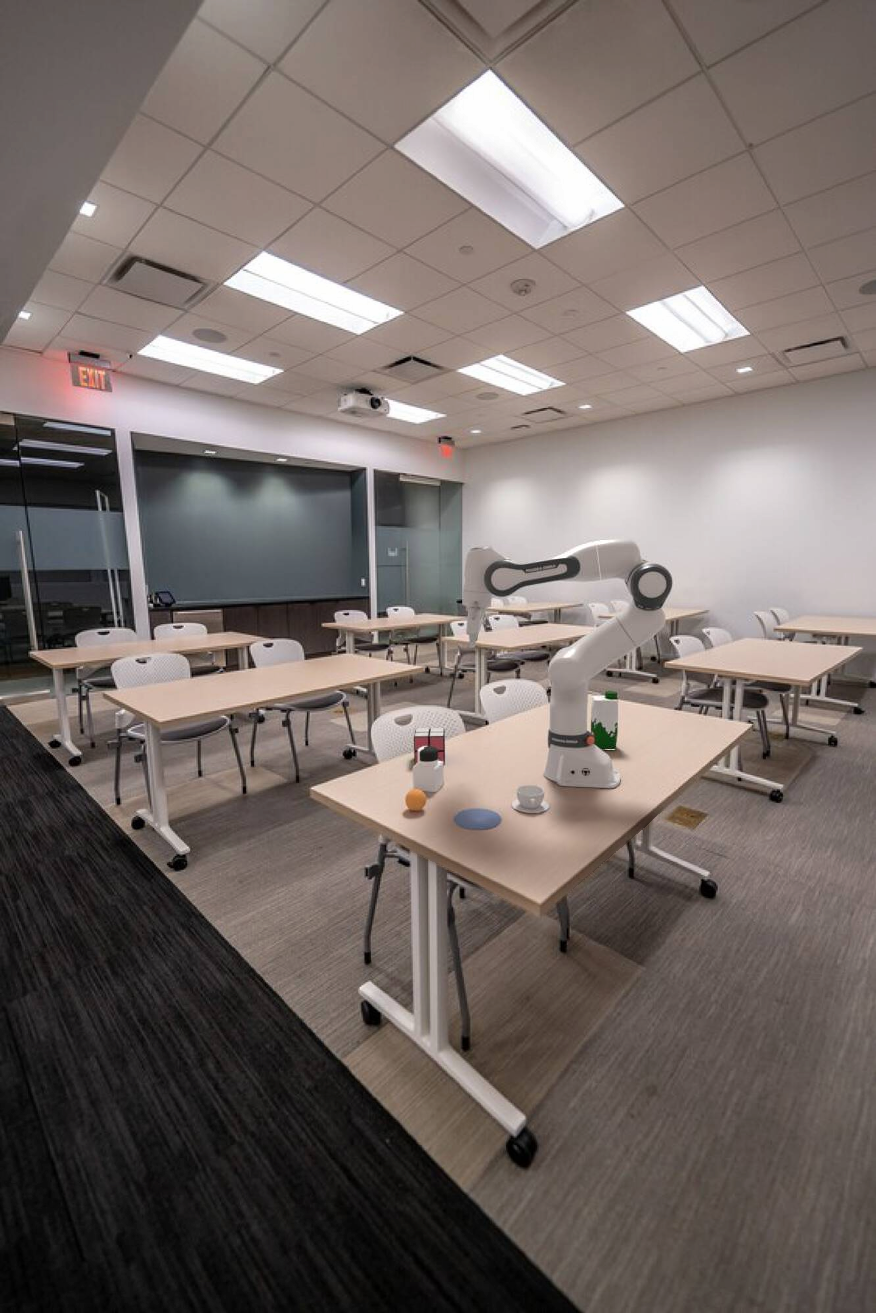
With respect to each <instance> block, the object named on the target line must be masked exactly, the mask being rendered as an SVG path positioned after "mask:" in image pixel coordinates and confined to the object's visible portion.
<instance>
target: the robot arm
mask: <svg viewBox="0 0 876 1313" xmlns="http://www.w3.org/2000/svg"><path fill="white" fill-rule="evenodd" d="M463 577H464V581H465V582H464V585H463V589H462V590H463V591H462V603H461V604H462V606H465V611H466V612H467V619H466V631H465V632H466V635H467V636H469V637H468V638H469V644H468V646H469V648H470V649H475V648H476V644H477V643H476V642H478V639H479V633H480V631H481V629H482V625H483V623H484V618H485V614H486V612H487V609H488V608H491V607H492V598H493V596H495V597H500V598H505V597H509V596H511V595H512V594H514V593H515V592H516V591H517V592H518V590H520V589H522V588H525V587H529V586H534V585H535V586H536V585H541V584H546V583H550V582H551V583H552V582H576V583H577V582H579V583H581V582H583V583H584V582H585V583H586V582H587V583H588V582H597V581H602V580H603V581H604V580H609V579H610V580H611V579H620V580H623V581H624V583H625V585H626V587H627V590H628V592H629V593H630V595H631V596H632V601H631V602H630V604H629V605H628V607H626V608H625V609H624V610H623V611H620V612H619V613H617V614H616V615H614V616H613V617H610V618H609V619H608V620H606V621H605V622H603V623H601V624H600V625H598V626H597V627H596V628H594V629H592V630H591V631H589V632H588V633H587V634H585V635H584V636H582V637H581V638H580V639H578V640H577V641H575V642H573V644H571V645H570V646H565V647H563V648H561V649H560V650H558V651H557V652H556V653H555V654H554V656H552V658H551V659H550V661H549V664H548V666H547V675H548V678H549V680H550V682H551V687H550V689H551V690H550V701H549V729H548V730H547V747H548V754H547V760H546V764H545V768H544V771H543V776H544V777H545V778H546V779H548V780H550V781H552V782H555V783H556V784H558V785H559V786H562V787H578V788H579V787H580V788H598V789H600V788H601V789H603V788H604V789H613V788H616V787H617V786H619V785H620V783H621V781H620V780H621V774H620V773H619V771H618V770H616V769H614V766H613V762H612V759H611V757H610V755H609V754H607V753H606V752H605V750H601V749H600V748H598V747H597V746H596V745H595V744H593V743H594V735H593V732H592V733H591V731H589V730H588V702H589V701H588V700H589V680H591V679H592V678H594V677H596V676H597V675H598V674H600V673H601V672H603V671H604V670H605V669H606V668H607V667H610V665H612V664H614V663H615V662H616V661H618V660H620V659H622V658H623V657H624V656H626V655H628V654H629V653H631V652H632V651H633V652H634V650H636V649H638V648H639V647H641V646H642V645H644V644H646V642H649V640H651V639H653V637H655V636H656V635H657V634H658V633H659V632H660V631H661V630H662V629H664V627H665V625H666V620H667V619H666V614H665V611H664V609H662V607H663V606H664V605H665V602H666V600H667V598H668V597H669V595H670V594H671V591H672V588H673V578H672V574H671V573H670V571H669V570H668V569H667V568H666V567H665V566H663V565H662V564H660V563H656V562H653V561H652V562H651V561H648V560H645V559H642V557H641V551H640V548H639V547H638V544H637V543H636V542H635V541H634V540H632V539H631V538H612V539H609V538H608V539H602V540H595V541H591V542H586V543H582V544H579V545H577V546H574V547H572V548H569V549H568V550H566V551H564V552H563V553H561V554H559V555H557V556H554V557H551V558H546V559H541V560H536V561H531V562H525V563H520V562H519V561H517V560H515V559H512V558H510V557H507V556H505V555H503V554H502V553H500V552H499V551H497V550H496V549H495V548H494V547H493V546H492V545H487V546H485V545H483V546H477V547H476V546H475V547H473V548H471V549H470V550H469V551H468V552H467V555H466V559H465V564H464V576H463Z"/></svg>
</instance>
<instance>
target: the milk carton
mask: <svg viewBox="0 0 876 1313" xmlns="http://www.w3.org/2000/svg"><path fill="white" fill-rule="evenodd" d="M618 698H619V697H618V691H615V690H614V691H612V690H610V691H609V690H607V691H605V694H604V695H601V694H600V695H592V698H591V699H592V700H591V705H590V706H591V707H590V709H591V710H590V733H592V732H593V735H594V743H593V744H595V745H596V746H597V747H598V748H600V749H615V748H617V742H618V741H617V740H618V733H619V732H618V731H619V730H618V728H619V727H618V726H619V701H618V700H619V699H618Z"/></svg>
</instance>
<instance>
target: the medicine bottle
mask: <svg viewBox="0 0 876 1313" xmlns="http://www.w3.org/2000/svg"><path fill="white" fill-rule="evenodd" d="M444 779H445V778H444V765H443V761H438V749H437V748H436V747H433V746H423V747H421V748H419V749H418V763H417V764H416V765H413V767H412V788H413V789H419V790H421V791H423V792H429V793H437V792H438V791H439V790H440V788H441V787H442V786H443V785H444V782H445V781H444ZM413 789H412V790H413Z"/></svg>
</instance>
